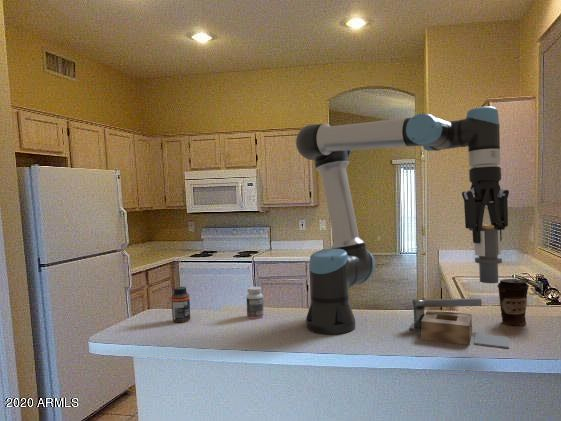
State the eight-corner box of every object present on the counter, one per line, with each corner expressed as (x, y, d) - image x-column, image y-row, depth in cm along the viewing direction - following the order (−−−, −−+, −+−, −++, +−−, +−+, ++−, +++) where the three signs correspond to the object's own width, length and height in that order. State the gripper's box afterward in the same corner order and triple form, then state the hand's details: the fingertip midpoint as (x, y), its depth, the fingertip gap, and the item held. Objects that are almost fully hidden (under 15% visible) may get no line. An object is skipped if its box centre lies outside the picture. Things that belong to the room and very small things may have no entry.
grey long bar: (414, 308, 118) (414, 301, 118) (411, 305, 121) (410, 298, 121) (483, 307, 117) (483, 300, 117) (477, 304, 120) (477, 297, 120)
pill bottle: (248, 314, 141) (247, 286, 141) (264, 314, 140) (263, 286, 140) (245, 319, 135) (244, 289, 135) (262, 319, 135) (261, 289, 134)
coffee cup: (535, 328, 116) (534, 283, 116) (504, 327, 118) (503, 283, 118) (523, 319, 125) (522, 277, 125) (494, 318, 127) (493, 277, 126)
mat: (474, 344, 105) (474, 342, 105) (475, 334, 112) (475, 333, 112) (509, 348, 101) (509, 346, 101) (508, 338, 108) (508, 337, 108)
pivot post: (409, 329, 118) (408, 308, 118) (412, 325, 123) (411, 304, 123) (427, 332, 116) (426, 310, 116) (429, 327, 120) (428, 306, 120)
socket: (421, 339, 110) (421, 320, 110) (427, 326, 121) (427, 310, 121) (469, 344, 105) (469, 325, 105) (471, 331, 115) (471, 314, 115)
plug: (474, 283, 105) (473, 226, 105) (476, 278, 111) (474, 224, 111) (502, 284, 102) (500, 225, 102) (502, 280, 108) (501, 224, 108)
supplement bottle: (177, 318, 139) (176, 285, 139) (193, 318, 138) (192, 285, 138) (169, 323, 133) (167, 289, 133) (185, 323, 132) (184, 289, 132)
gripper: (468, 165, 100) (471, 259, 100) (522, 165, 105) (525, 253, 105) (447, 168, 107) (450, 255, 108) (499, 168, 112) (502, 251, 113)
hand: (487, 254), depth 107 cm, fingers closed on plug, 4 cm apart
